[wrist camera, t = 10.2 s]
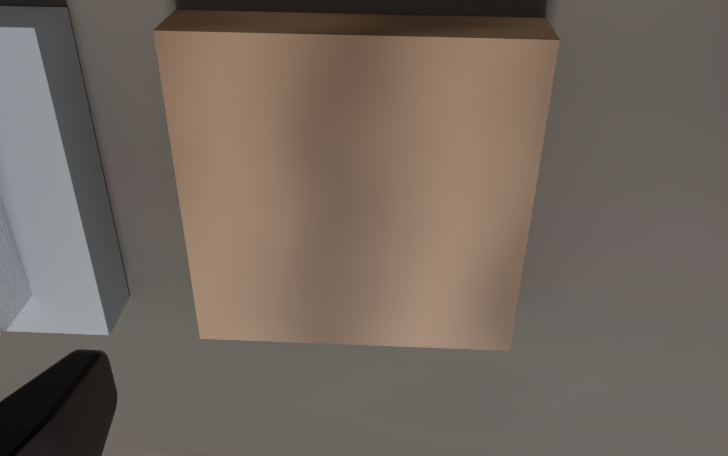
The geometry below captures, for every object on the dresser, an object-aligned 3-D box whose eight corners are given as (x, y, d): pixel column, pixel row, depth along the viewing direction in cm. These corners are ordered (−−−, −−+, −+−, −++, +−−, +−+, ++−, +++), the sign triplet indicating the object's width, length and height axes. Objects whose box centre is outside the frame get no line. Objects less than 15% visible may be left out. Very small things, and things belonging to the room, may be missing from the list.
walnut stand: (545, 17, 18) (559, 39, 17) (502, 311, 24) (510, 350, 22) (175, 9, 19) (153, 30, 17) (214, 300, 24) (200, 338, 22)
